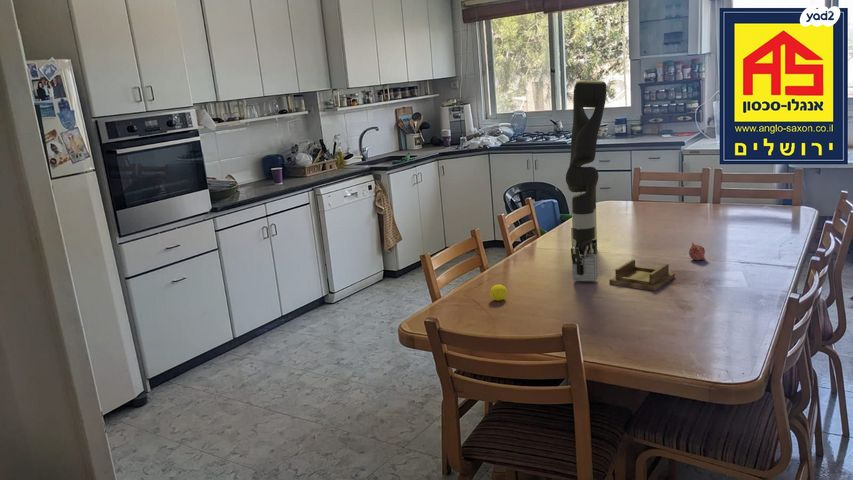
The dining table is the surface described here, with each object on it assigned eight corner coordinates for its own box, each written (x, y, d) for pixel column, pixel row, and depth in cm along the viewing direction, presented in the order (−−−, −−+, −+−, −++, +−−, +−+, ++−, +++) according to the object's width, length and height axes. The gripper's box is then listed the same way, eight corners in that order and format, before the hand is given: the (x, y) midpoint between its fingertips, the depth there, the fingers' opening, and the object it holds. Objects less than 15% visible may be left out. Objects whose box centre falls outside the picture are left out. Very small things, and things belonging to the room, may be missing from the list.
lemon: (496, 297, 225) (496, 282, 224) (510, 299, 222) (510, 283, 221) (486, 301, 219) (486, 285, 219) (500, 303, 216) (500, 287, 216)
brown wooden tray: (609, 283, 227) (609, 269, 226) (630, 271, 238) (630, 257, 237) (654, 291, 216) (654, 276, 215) (674, 277, 228) (674, 263, 226)
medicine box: (597, 277, 232) (596, 253, 229) (596, 281, 227) (595, 257, 225) (574, 277, 234) (573, 253, 232) (572, 281, 230) (571, 257, 228)
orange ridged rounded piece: (683, 246, 242) (696, 237, 241) (683, 249, 249) (696, 240, 248) (697, 264, 239) (710, 255, 238) (697, 266, 246) (710, 257, 245)
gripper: (584, 219, 234) (585, 265, 238) (562, 229, 223) (564, 276, 228) (603, 221, 229) (604, 268, 233) (582, 231, 218) (584, 279, 223)
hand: (584, 272), depth 230 cm, fingers closed on medicine box, 5 cm apart
